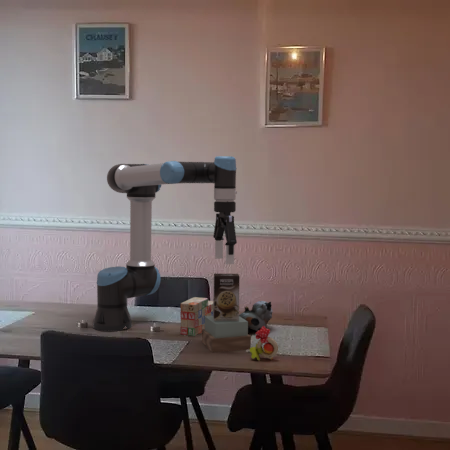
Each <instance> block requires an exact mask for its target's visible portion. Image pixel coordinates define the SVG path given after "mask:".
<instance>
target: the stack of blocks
mask: <svg viewBox="0 0 450 450" xmlns="http://www.w3.org/2000/svg"><path fill="white" fill-rule="evenodd" d="M179 313H180V315H179V317H180V335H185V336H194V337H195V336H197V335H199V334H202V329H205V316H213V300H209V298H207V297H196V296H194V297H191V298H189V299H187V300H185V301H183V302H180V312H179Z"/></svg>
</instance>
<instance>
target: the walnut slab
mask: <svg viewBox="0 0 450 450" xmlns="http://www.w3.org/2000/svg"><path fill="white" fill-rule="evenodd" d="M251 342H252V336H251V335H249V334H248V336H237V337H225V338H215V337H213V336H212V335H211V334H209V333H208V332H207V331H206V330H205V329H202V332H201V343H202V344H203V345H205V347H206V348H207V349H208V350H209V351H210V352H212V353H222V352H233V351H246V350H250V348H251V347H252V346H251V345H252V343H251Z"/></svg>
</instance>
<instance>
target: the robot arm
mask: <svg viewBox="0 0 450 450" xmlns="http://www.w3.org/2000/svg"><path fill="white" fill-rule="evenodd" d="M236 160H237V159H236V157H234V156H230V155H229V156H227V155H226V156H222V155H216V156H215V157H214V159H213V162H212V161H211V162H210V161H176V160H170V161H169V160H168V161H165V162H161V163H153V164H147V163H118V164H116V165H114V166H112V167H110V168H109V170H108V172H107V174H106V182H107V185H108V187H109V188H110V189H111V190H113V191H114V192H116V193H119V194H126V198H127V199H128V200H129V201H130V207H129V209H130V214H129V217H130V220H129V223H130V225H129V231H130V232H129V235H130V236H129V241H130V242H129V259H128V261H127V262H126V265H125V266H121V265H119V266H110V267H106V268H103V269H101V270H99V271H98V273H97V276H96V285H97V286H96V288H97V290H96V293H97V295H96V298H97V299H96V302H97V309H96V312H95V315H94V318H93V322H92V328H93V329H94V330H95V331H101V332H117V331H123V328H124V327H125V326H126V327H127V329H130V328H131V327H132V325H133V323H132V317H131V315H130V312H129V309H128V299H132V298H138V297H139V298H140V297H147V296H148V295H153V294H155V293H156V291H158V289H159V288H160V284H161V281H162V280H161V279H162V278H161V273H160V270H159V269H158V268H157V267H156V264H155V262H154V261H153V260H152V212H153V211H152V205H153V201H154V200H155V199H156V194H157V193H158V192H160V190H161V188H162V185H174V184H214V187H213V200H214V202H213V212H215V213H216V214H215V221H214V230H213V235H212V236H213V237H212V238H214V240H215V243H214V259H215V260H217V259H218V260H219V259H221V260H222V259H224V246H225V265H235V245H236V244H237V243H238V242H237V235H236V228H235V227H236V226H235V216H234V215H231V214H232V213H235V212H236V207H237V206H236V203H237V202H236V201H235V200H236V195H237V194H238V191H237V186H236V185H237V184H236V183H237V161H236ZM224 236H225V239H224ZM225 240H226V242H225V244H224V241H225ZM127 329H126V330H127Z"/></svg>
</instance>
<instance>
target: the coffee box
mask: <svg viewBox="0 0 450 450" xmlns="http://www.w3.org/2000/svg"><path fill="white" fill-rule="evenodd" d="M212 297H213V300H212V301H213V320H214V321H239V315H240V274H239V273H213V296H212Z"/></svg>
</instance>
